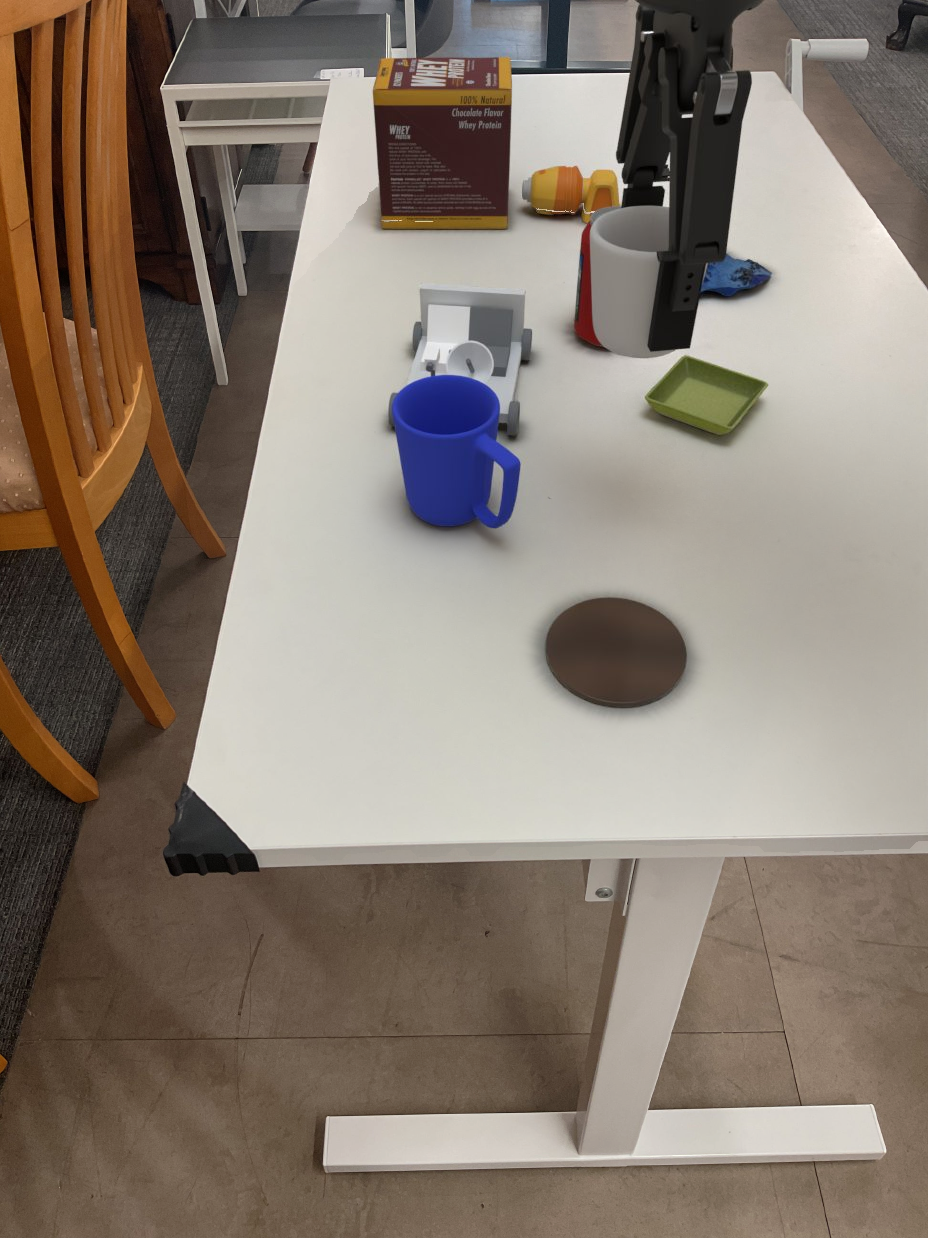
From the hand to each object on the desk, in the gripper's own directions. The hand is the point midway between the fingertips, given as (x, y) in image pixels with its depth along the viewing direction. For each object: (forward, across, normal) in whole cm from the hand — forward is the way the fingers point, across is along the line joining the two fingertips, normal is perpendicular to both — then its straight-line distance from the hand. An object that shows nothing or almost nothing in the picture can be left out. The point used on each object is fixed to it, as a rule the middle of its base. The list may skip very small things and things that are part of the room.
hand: (649, 311), depth 65 cm
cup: (+2, 0, 0) cm, 2 cm away
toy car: (+18, -17, -11) cm, 27 cm away
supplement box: (+18, -57, -7) cm, 60 cm away
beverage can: (+18, -26, +5) cm, 32 cm away
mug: (+18, 0, -13) cm, 22 cm away
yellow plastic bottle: (+18, -54, +8) cm, 57 cm away
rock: (+18, -38, +17) cm, 45 cm away
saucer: (+18, -12, +11) cm, 24 cm away
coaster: (+17, +16, -4) cm, 24 cm away
